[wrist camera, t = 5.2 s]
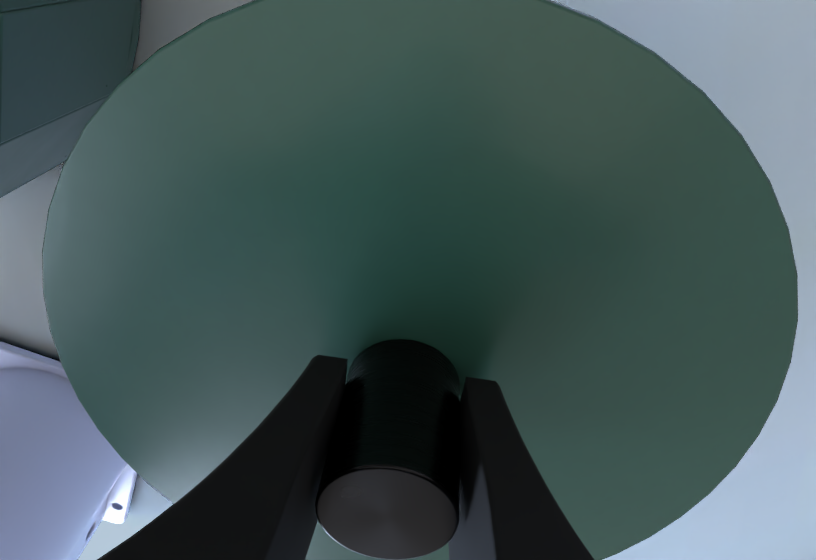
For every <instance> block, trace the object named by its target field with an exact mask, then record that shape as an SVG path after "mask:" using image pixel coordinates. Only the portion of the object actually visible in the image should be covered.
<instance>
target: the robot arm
mask: <svg viewBox="0 0 816 560" xmlns="http://www.w3.org/2000/svg"><path fill="white" fill-rule="evenodd" d="M347 362H348V359H345V358H338V357H331V356H325V355H317V356H315V357H313V358H312V359H311V361H310V362H309V364H308V365H307V367H306V368H305V370H304V371H303V373H302V374H301V375H300V377H299V378H298V379H297V381H296V382H295V383H294V384H293V386H292V387H291V388H290V389H289V391H288V392H287V393H286V394H285V396H284V397H283V398H282V399H281V401H280V402H279V403H278V404H277V405H276V406H275V407H274V409H273V410H272V411H271V412H270V413H269V414H268V415H267V417H266V418H265V419H264V420H263V421H262V422H261V423H260V424H259V426H258V427H257V428H256V429H255V430H254V431H253V432H252V433H251V434H250V435H249V436H248V437H247V438H246V439H245V440H244V441H243V442H242V443H241V444H240V445H239V446H238V447H237V448H236V449H235V450H234V451H233V452H232V453H231V454H230V455H229V456H228V457H227V458H226V459H225V460H224V461H223V462H222V463H221V464H220V465H219V466H218V467H216V468H215V469H214V470H213V471H212V472H211V473H210V474H209V475H208V476H207V477H205V478H204V479H203V480H202V481H201V482H200V483H198V484H197V485H196V486H195V487H194V488H193V489H192V490H190V491H189V492H188V493H187V494H186V495H184V496H183V497H182V498H181V499H179V500H178V501H177V502H176V503H174V504H173V505H172V506H171V507H169V508H168V509H167V510H166V511H164V512H163V513H162V514H161V515H159V516H158V517H157V518H155V519H154V520H153V521H152V522H150V523H149V524H148V525H146V526H145V527H144V528H142V529H141V530H140V531H138V532H137V533H135V534H134V535H133V536H131V537H130V538H128V539H127V540H126V541H124V542H123V543H121V544H120V545H118V546H117V547H115V548H114V549H112V550H111V551H109V552H108V553H106V554H105V555H103V556H102V557H100V558H99V559H97V560H305V558H306V555H307V552H308V549H309V546H310V543H311V540H312V537H313V533H314V530H315V527H316V524H317V521H318V518H317V515H316V510H315V501H316V496H317V492H318V488H319V484H320V480H321V476H322V473H323V469H324V465H325V461H326V457H327V453H328V449H329V445H330V442H331V438H332V434H333V430H334V427H335V423H336V420H337V416H338V412H339V408H340V404H341V400H342V396H343V393H344V389H345V384H346V373H347ZM136 478H137V473H136V472H135V471H134V470H133V469H132V468H131V467H130V466H129V465H128V464H127V463H126V462H125V461H124V460H123V459H122V458H121V457H120V456H119V454H118V453H117V452H116V451H115V449H114V448H113V447H112V446H111V445H110V443H109V442H108V441H107V440H106V439H105V437H104V436H103V435H102V434H101V433H100V431H99V430H98V429H97V427H96V426H95V424H94V423H93V421H92V419H91V418H90V416H89V415H88V413H87V412H86V410H85V409H84V407H83V406H82V404H81V403H80V401H79V400H78V398H77V396H76V394H75V391H74V389H73V387H72V385H71V383H70V381H69V379H68V377H67V375H66V373H65V371H64V369H63V367H62V365H61V362H60V361H57V360H54V359H51V358H48V357H45V356H42V355H39V354H36V353H33V352H30V351H27V350H25V349H22V348H19V347H16V346H13V345H10V344H7V343H4V342H1V341H0V560H78V558H79V557H80V555H81V553H82V552H83V550H84V549H85V547H86V545H87V544H88V542H89V540H90V539H91V537H92V536H93V534H94V532H95V531H96V529H97V527H98V526H99V524H100V523H101V521H102V520H105V521H108V522H112V523H116V524H120V523H123V522H124V521H125V519H126V518H127V516H128V513H129V509H130V504H131V500H132V495H133V491H134V487H135V482H136ZM448 546H449V560H594V558H593V557H592V555H591V554H590V552H589V551H588V550H587V548H586V547H585V545H584V544H583V542H582V541H581V539H580V538H579V537H578V535H577V534H576V532H575V531H574V529H573V527H572V526H571V524H570V523H569V521H568V520H567V518H566V517H565V515H564V513H563V512H562V510H561V508H560V507H559V505H558V503H557V502H556V500H555V498H554V497H553V495H552V493H551V492H550V490H549V488H548V487H547V485H546V483H545V481H544V479H543V478H542V476H541V474H540V472H539V470H538V468H537V466H536V464H535V463H534V461H533V459H532V457H531V455H530V453H529V451H528V449H527V447H526V445H525V443H524V441H523V439H522V437H521V435H520V433H519V431H518V428H517V426H516V424H515V422H514V420H513V418H512V415H511V413H510V411H509V408H508V406H507V403H506V401H505V398H504V396H503V393H502V391H501V388H500V386H499V385H498V383H497V382H496V381H492V380H485V379H479V378H472V377H466V378H465V382H464V387H463V391H462V395H461V400H460V519H459V525H458V528H457V530H456V532H455V534H454V536H453V537H452V539H451V540H450V541H449V542H448Z"/></svg>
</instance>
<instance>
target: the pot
mask: <svg viewBox="0 0 816 560" xmlns="http://www.w3.org/2000/svg"><path fill="white" fill-rule="evenodd" d="M140 12H141V0H0V198H1V197H3V196H4V195H6V194H8V193H10V192H11V191H13V190H15V189H17V188H18V187H20V186H22V185H24V184H26V183H27V182H29V181H31V180H33V179H34V178H36V177H38V176H40V175H41V174H43V173H45V172H47V171H48V170H50V169H52V168H54V167H55V166H57V165H59V164H61V163H62V162H64V161H66V160H67V158H68V156H69V154H70V153H71V151H72V149H73V147H74V145H75V143H76V142H77V140H78V138H79V136H80V134H81V132H82V131H83V129H84V127H85V125H86V124H87V122H88V121H89V120H90V119H91V118H92V116H93V115H94V114H95V113H96V111H97V110H98V109H99V108H100V106H101V105H102V104H103V103H104V101H105V100H106V99H107V98H108V97H109V95H110V94H111V93H112V92H113V90H114V89H115V88H116V87H117V85H118V84H120V83H121V82H122V81H123V80H124V79H125V78H126V77H128V76H129V75H130V73H131V71H132V67H133V63H134V58H135V53H136V48H137V44H138V39H139V25H140Z"/></svg>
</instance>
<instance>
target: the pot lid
mask: <svg viewBox="0 0 816 560" xmlns="http://www.w3.org/2000/svg"><path fill="white" fill-rule="evenodd" d="M42 259H43V294H44V299H45V305H46V311H47V316H48V322H49V328H50V332H51V335H52V338H53V341H54V344H55V347H56V350H57V353H58V356H59V359H60V362H61V365H62V367H63V369H64V371H65V373H66V375H67V377H68V379H69V381H70V383H71V385H72V387H73V389H74V391H75V394H76V396H77V398H78V400H79V401H80V403H81V404H82V406H83V407H84V409H85V410H86V412H87V413H88V415H89V416H90V418H91V419H92V421H93V423H94V424H95V426H96V427H97V429H98V430H99V431H100V433H101V434H102V435H103V436H104V437H105V439H106V440H107V441H108V442H109V443H110V445H111V446H112V447H113V448H114V449H115V451H116V452H117V453H118V454H119V456H120V457H121V458H122V459H123V460H124V461H125V462H126V463H127V464H128V465H129V466H130V467H131V468H132V469H133V470H134V471H135V472H136V473H137V474H138V475H139V476H140V477H141V478H142V479H143V480H145V481H146V482H147V483H148V484H149V485H150V486H151V487H153V488H154V489H155V490H156V491H158V492H159V493H160V494H161V495H162V496H164V497H165V498H166V499H167V500H169V501H170V502H171V503H172V504H174V503H176V502H177V501H178V500H179V499H181V498H182V497H183V496H184V495H186V494H187V493H188V492H189V491H190V490H192V489H193V488H194V487H195V486H196V485H197V484H198V483H200V482H201V481H202V480H203V479H204V478H205V477H207V476H208V475H209V474H210V473H211V472H212V471H213V470H214V469H215V468H216V467H218V466H219V465H220V464H221V463H222V462H223V461H224V460H225V459H226V458H227V457H228V456H229V455H230V454H231V453H232V452H233V451H234V450H235V449H236V448H237V447H238V446H239V445H240V444H241V443H242V442H243V441H244V440H245V439H246V438H247V437H248V436H249V435H250V434H251V433H252V432H253V431H254V430H255V429H256V428H257V427H258V426H259V424H260V423H261V422H262V421H263V420H264V419H265V418H266V417H267V415H268V414H269V413H270V412H271V411H272V410H273V409H274V407H275V406H276V405H277V404H278V403H279V402H280V401H281V399H282V398H283V397H284V396H285V394H286V393H287V392H288V391H289V389H290V388H291V387H292V386H293V384H294V383H295V382H296V381H297V379H298V378H299V377H300V375H301V374H302V373H303V371H304V370H305V368H306V367H307V365H308V364H309V362H310V361H311V359H312V358H313V357H315V356H317V355H325V356H331V357H338V358H345V359H348V362H347V373H346V384H345V389H344V393H343V396H342V400H341V404H340V408H339V412H338V416H337V420H336V423H335V427H334V430H333V434H332V438H331V442H330V445H329V449H328V453H327V457H326V461H325V465H324V469H323V473H322V476H321V480H320V484H319V488H318V492H317V496H316V501H315V510H316V515H317V518H318V521H317V524H316V527H315V530H314V533H313V537H312V540H311V543H310V546H309V549H308V552H307V555H306V558H305V560H449V546H448V542H449V541H450V540H451V539H452V537H453V536H454V534H455V532H456V530H457V528H458V525H459V519H460V400H461V395H462V391H463V387H464V382H465V378H466V377H472V378H479V379H485V380H492V381H496V382H497V383H498V385H499V386H500V388H501V391H502V393H503V396H504V398H505V401H506V403H507V406H508V408H509V411H510V413H511V415H512V418H513V420H514V422H515V424H516V426H517V428H518V431H519V433H520V435H521V437H522V439H523V441H524V443H525V445H526V447H527V449H528V451H529V453H530V455H531V457H532V459H533V461H534V463H535V464H536V466H537V468H538V470H539V472H540V474H541V476H542V478H543V479H544V481H545V483H546V485H547V487H548V488H549V490H550V492H551V493H552V495H553V497H554V498H555V500H556V502H557V503H558V505H559V507H560V508H561V510H562V512H563V513H564V515H565V517H566V518H567V520H568V521H569V523H570V524H571V526H572V527H573V529H574V531H575V532H576V534H577V535H578V537H579V538H580V539H581V541H582V542H583V544H584V545H585V547H586V548H587V550H588V551H589V552H590V554H591V555H592V557H593V558H594V560H602V559H605V558H607V557H610V556H612V555H615V554H617V553H619V552H621V551H623V550H625V549H627V548H629V547H631V546H633V545H635V544H637V543H639V542H641V541H643V540H645V539H647V538H649V537H651V536H652V535H654V534H655V533H657V532H658V531H660V530H661V529H663V528H665V527H666V526H668V525H669V524H671V523H672V522H674V521H675V520H677V519H679V518H680V517H681V516H683V515H684V514H685V513H686V512H688V511H689V510H690V509H691V508H692V507H694V506H695V505H696V504H697V503H699V502H700V501H701V500H702V499H704V498H705V497H706V496H707V495H708V494H710V493H711V492H712V491H713V489H714V488H715V487H716V486H717V485H718V484H719V483H720V482H721V481H722V480H723V479H724V478H725V477H726V476H727V475H728V474H729V473H730V472H731V471H732V470H733V469H734V468H735V467H736V465H737V464H738V463H739V461H740V460H741V459H742V457H743V456H744V455H745V453H746V452H747V451H748V449H749V448H750V446H751V445H752V444H753V442H754V441H755V440H756V438H757V437H758V436H759V434H760V432H761V430H762V428H763V426H764V424H765V423H766V421H767V419H768V417H769V415H770V413H771V411H772V410H773V408H774V406H775V404H776V402H777V400H778V397H779V394H780V391H781V388H782V386H783V383H784V380H785V377H786V374H787V371H788V368H789V365H790V363H791V357H792V351H793V345H794V339H795V334H796V328H797V322H798V295H797V271H796V266H795V260H794V255H793V250H792V245H791V239H790V234H789V229H788V226H787V223H786V221H785V218H784V216H783V213H782V211H781V208H780V205H779V203H778V200H777V198H776V195H775V193H774V190H773V187H772V185H771V182H770V180H769V179H768V177H767V175H766V174H765V172H764V171H763V169H762V167H761V166H760V164H759V162H758V161H757V159H756V157H755V156H754V154H753V153H752V151H751V149H750V148H749V146H748V144H747V143H746V141H745V140H744V138H743V136H742V135H741V134H740V133H739V131H738V130H737V129H736V128H735V127H734V126H733V125H732V124H731V122H730V121H729V120H728V119H727V118H726V117H725V116H724V114H723V113H722V112H721V111H720V110H719V109H718V108H717V106H716V105H715V104H714V103H713V102H712V101H711V100H710V99H709V97H708V96H707V95H706V94H705V93H704V92H703V91H702V90H701V89H700V88H698V87H697V86H696V85H695V84H693V83H692V82H691V81H690V80H688V79H687V78H686V77H685V76H684V75H682V74H681V73H680V72H679V71H677V70H676V69H675V68H674V67H672V66H671V65H670V64H669V63H668V62H666V61H665V60H664V59H663V58H661V57H660V56H659V55H658V54H656V53H655V52H653V51H652V50H650V49H648V48H647V47H645V46H643V45H641V44H640V43H638V42H636V41H635V40H633V39H631V38H629V37H628V36H626V35H624V34H622V33H621V32H619V31H617V30H616V29H614V28H612V27H610V26H609V25H607V24H605V23H603V22H602V21H600V20H598V19H596V18H595V17H593V16H590V15H587V14H585V13H582V12H580V11H577V10H575V9H572V8H569V7H567V6H564V5H562V4H559V3H556V2H554V1H551V0H254V1H252V2H249V3H247V4H244V5H242V6H239V7H237V8H234V9H232V10H229V11H227V12H225V13H222V14H220V15H217V16H215V17H212V18H210V19H208V20H206V21H204V22H203V23H201V24H200V25H198V26H196V27H195V28H193V29H191V30H190V31H188V32H186V33H185V34H183V35H182V36H180V37H178V38H177V39H175V40H173V41H172V42H170V43H168V44H167V45H165V46H163V47H162V48H160V49H159V50H157V51H156V52H155V53H154V54H153V55H152V56H151V57H149V58H148V59H147V60H146V61H145V62H144V63H143V64H141V65H140V66H139V67H138V68H137V69H136V70H134V71H133V72H132V73H131V74H130V75H129V76H128V77H126V78H125V79H124V80H123V81H122V82H121V83H120V84H118V85H117V87H116V88H115V89H114V90H113V92H112V93H111V94H110V95H109V97H108V98H107V99H106V100H105V101H104V103H103V104H102V105H101V106H100V108H99V109H98V110H97V111H96V113H95V114H94V115H93V116H92V118H91V119H90V120H89V121H88V122H87V124H86V125H85V127H84V129H83V131H82V132H81V134H80V136H79V138H78V140H77V142H76V143H75V145H74V147H73V149H72V151H71V153H70V154H69V156H68V158H67V160H66V162H65V163H64V165H63V168H62V171H61V174H60V177H59V180H58V183H57V186H56V189H55V192H54V195H53V198H52V201H51V204H50V207H49V210H48V217H47V223H46V230H45V237H44V243H43V250H42Z"/></svg>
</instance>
